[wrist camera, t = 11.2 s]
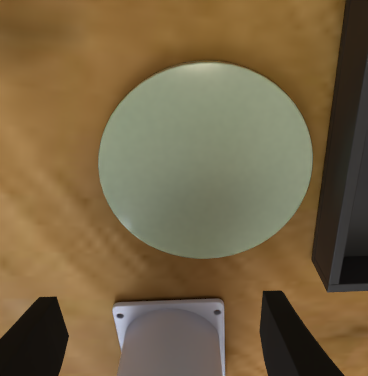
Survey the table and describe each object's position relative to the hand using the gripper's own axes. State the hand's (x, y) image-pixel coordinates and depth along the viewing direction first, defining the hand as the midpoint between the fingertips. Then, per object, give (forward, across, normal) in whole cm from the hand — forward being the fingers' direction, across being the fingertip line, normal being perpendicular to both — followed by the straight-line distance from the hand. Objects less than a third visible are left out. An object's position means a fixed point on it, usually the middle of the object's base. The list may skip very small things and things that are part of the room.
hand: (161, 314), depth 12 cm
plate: (+10, -2, -1) cm, 10 cm away
